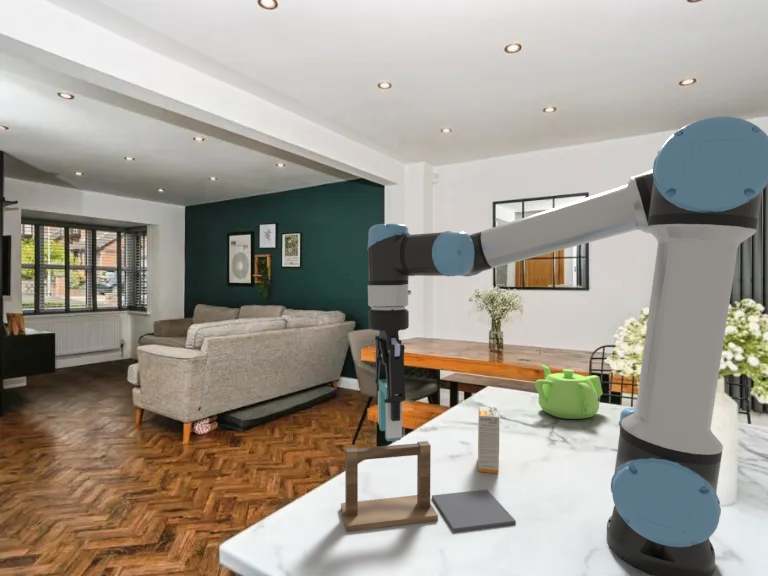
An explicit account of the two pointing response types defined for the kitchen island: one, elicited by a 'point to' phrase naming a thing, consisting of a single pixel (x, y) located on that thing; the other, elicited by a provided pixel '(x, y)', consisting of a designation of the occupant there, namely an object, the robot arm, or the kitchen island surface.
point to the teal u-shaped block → (383, 408)
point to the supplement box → (488, 440)
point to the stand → (387, 509)
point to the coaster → (472, 510)
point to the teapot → (569, 394)
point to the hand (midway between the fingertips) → (389, 429)
